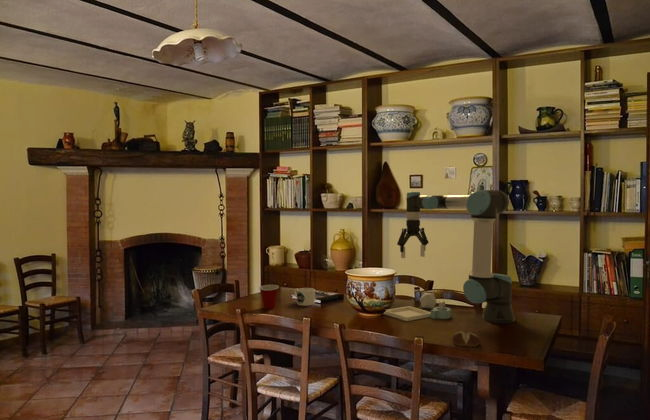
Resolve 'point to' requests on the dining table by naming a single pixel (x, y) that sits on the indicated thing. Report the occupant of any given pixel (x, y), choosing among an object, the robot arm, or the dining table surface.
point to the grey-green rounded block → (440, 313)
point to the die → (428, 300)
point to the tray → (407, 313)
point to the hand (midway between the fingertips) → (412, 257)
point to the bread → (466, 339)
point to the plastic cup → (269, 295)
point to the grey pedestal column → (441, 305)
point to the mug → (305, 296)
